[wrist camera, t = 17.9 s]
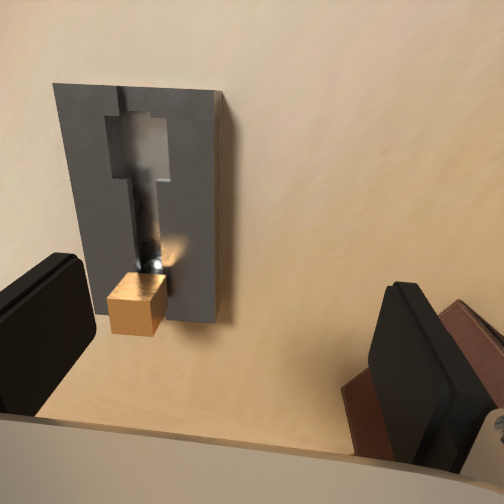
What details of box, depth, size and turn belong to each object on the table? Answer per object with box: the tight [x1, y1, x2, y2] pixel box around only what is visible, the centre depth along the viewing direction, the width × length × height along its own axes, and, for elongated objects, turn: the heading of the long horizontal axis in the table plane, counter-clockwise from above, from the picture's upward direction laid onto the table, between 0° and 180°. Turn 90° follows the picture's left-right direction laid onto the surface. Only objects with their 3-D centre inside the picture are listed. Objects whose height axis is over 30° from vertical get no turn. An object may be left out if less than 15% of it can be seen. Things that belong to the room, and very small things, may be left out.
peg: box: [107, 255, 168, 337], centre depth 36 cm, size 4×4×10 cm
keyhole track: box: [52, 83, 222, 323], centre depth 36 cm, size 14×24×4 cm, turn 178°
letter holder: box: [341, 300, 504, 462], centre depth 39 cm, size 10×20×14 cm, turn 141°
